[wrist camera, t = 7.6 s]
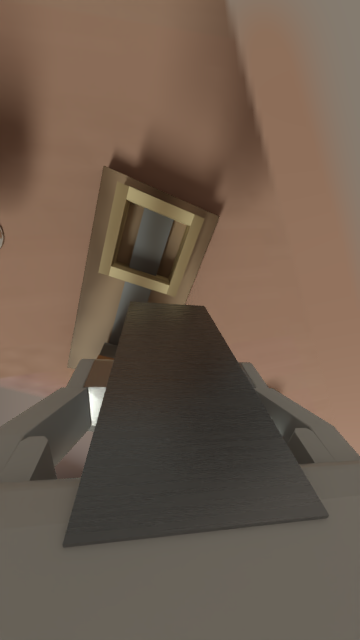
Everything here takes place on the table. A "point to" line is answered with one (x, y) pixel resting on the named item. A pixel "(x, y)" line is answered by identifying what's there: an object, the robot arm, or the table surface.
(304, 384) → the table surface
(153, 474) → the grey metal slab
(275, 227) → the table surface
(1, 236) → the wineglass
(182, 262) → the rail
